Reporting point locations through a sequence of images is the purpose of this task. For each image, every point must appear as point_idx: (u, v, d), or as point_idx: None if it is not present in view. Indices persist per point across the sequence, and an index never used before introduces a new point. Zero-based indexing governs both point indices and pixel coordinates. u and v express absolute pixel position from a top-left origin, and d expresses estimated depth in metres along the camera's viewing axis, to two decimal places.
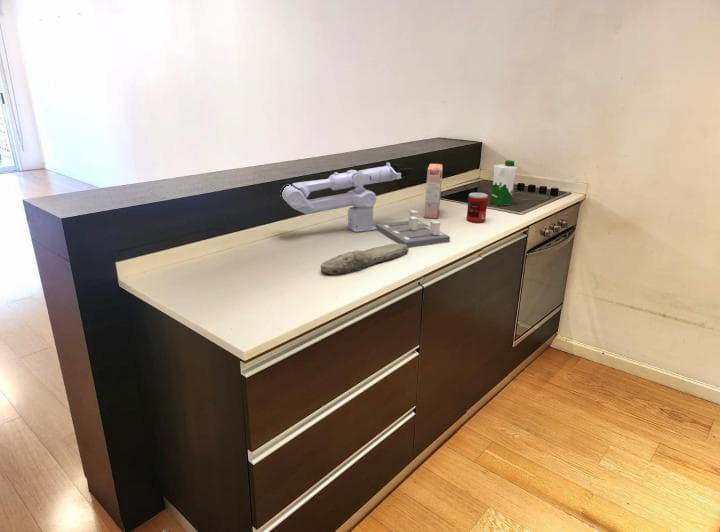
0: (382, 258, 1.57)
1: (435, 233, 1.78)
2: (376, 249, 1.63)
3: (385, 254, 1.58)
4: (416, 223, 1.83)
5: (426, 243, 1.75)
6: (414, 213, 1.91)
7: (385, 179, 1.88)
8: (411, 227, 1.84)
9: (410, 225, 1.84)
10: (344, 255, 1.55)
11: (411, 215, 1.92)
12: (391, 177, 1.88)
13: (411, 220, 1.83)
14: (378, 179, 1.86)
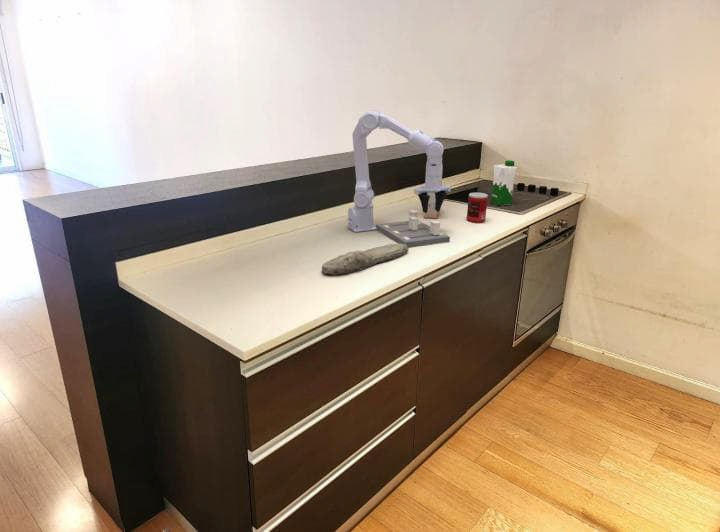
0: (383, 258, 1.57)
1: (435, 233, 1.78)
2: (376, 249, 1.63)
3: (386, 254, 1.58)
4: (416, 223, 1.83)
5: (426, 243, 1.75)
6: (414, 213, 1.91)
7: None
8: (411, 227, 1.84)
9: (410, 225, 1.84)
10: (345, 255, 1.55)
11: (411, 215, 1.92)
12: (424, 187, 1.82)
13: (411, 220, 1.83)
14: (430, 174, 1.78)
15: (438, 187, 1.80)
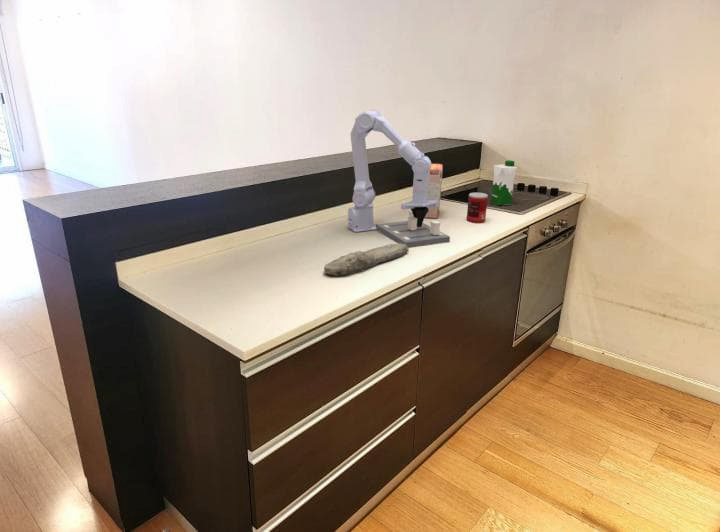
0: (384, 258, 1.57)
1: (435, 233, 1.78)
2: (377, 249, 1.62)
3: (387, 254, 1.58)
4: (415, 223, 1.83)
5: (426, 243, 1.75)
6: None
7: None
8: (410, 227, 1.84)
9: (409, 225, 1.84)
10: (346, 256, 1.54)
11: (411, 215, 1.92)
12: (411, 202, 1.82)
13: (410, 220, 1.83)
14: (416, 189, 1.78)
15: (425, 202, 1.80)
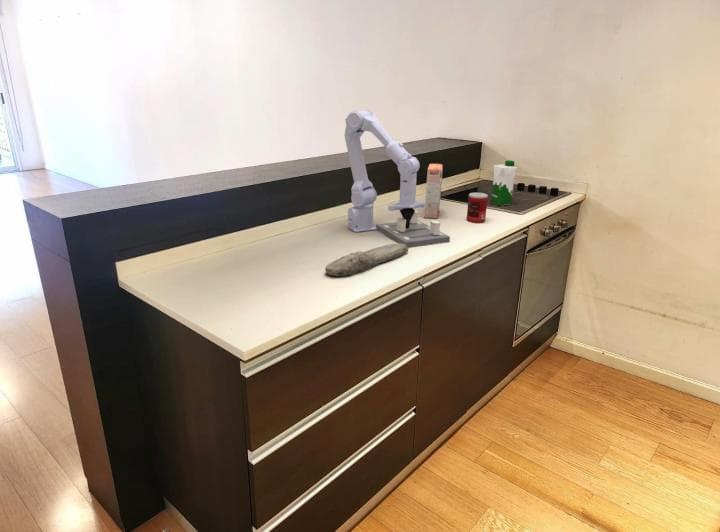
0: (385, 258, 1.57)
1: (435, 233, 1.78)
2: (377, 249, 1.62)
3: (387, 254, 1.58)
4: (404, 224, 1.81)
5: (426, 243, 1.75)
6: (414, 213, 1.91)
7: None
8: (399, 228, 1.82)
9: (398, 226, 1.82)
10: (347, 256, 1.54)
11: None
12: (399, 203, 1.80)
13: (399, 221, 1.81)
14: (402, 190, 1.77)
15: (412, 203, 1.78)
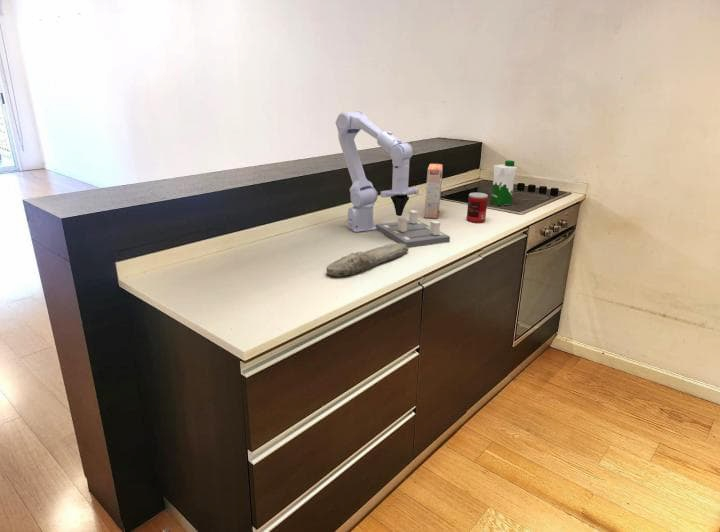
0: (385, 258, 1.57)
1: (435, 233, 1.78)
2: (377, 250, 1.62)
3: (388, 254, 1.58)
4: (405, 224, 1.81)
5: (426, 243, 1.75)
6: (414, 213, 1.91)
7: (392, 183, 1.77)
8: (400, 228, 1.82)
9: (399, 226, 1.83)
10: (348, 257, 1.54)
11: (411, 215, 1.92)
12: (391, 190, 1.77)
13: (400, 221, 1.81)
14: (393, 176, 1.74)
15: (405, 190, 1.75)
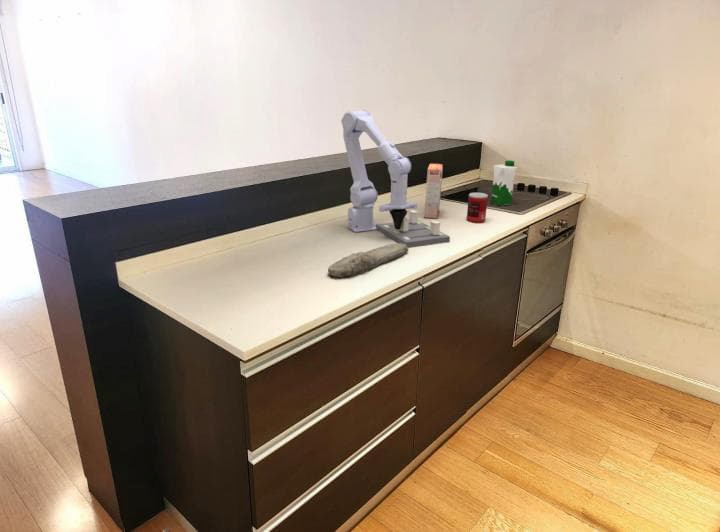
0: (386, 259, 1.57)
1: (435, 233, 1.78)
2: (378, 250, 1.62)
3: (388, 254, 1.58)
4: (407, 224, 1.81)
5: (426, 243, 1.75)
6: (414, 213, 1.91)
7: None
8: (402, 228, 1.82)
9: (401, 226, 1.83)
10: (349, 257, 1.53)
11: (411, 215, 1.92)
12: (390, 204, 1.79)
13: None
14: (392, 190, 1.76)
15: (403, 204, 1.77)
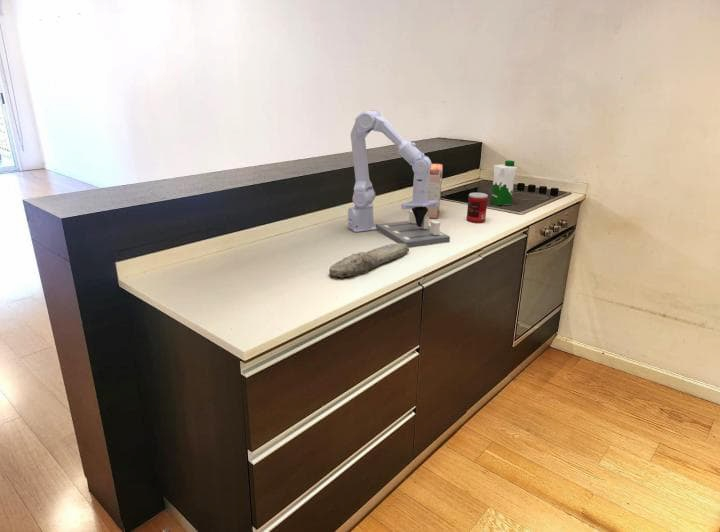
0: (387, 259, 1.57)
1: (435, 233, 1.78)
2: (378, 250, 1.62)
3: (389, 254, 1.58)
4: (427, 222, 1.85)
5: (426, 243, 1.75)
6: None
7: None
8: (422, 226, 1.86)
9: (421, 224, 1.86)
10: (350, 257, 1.53)
11: (411, 215, 1.92)
12: (411, 202, 1.82)
13: None
14: (416, 189, 1.78)
15: (425, 202, 1.80)
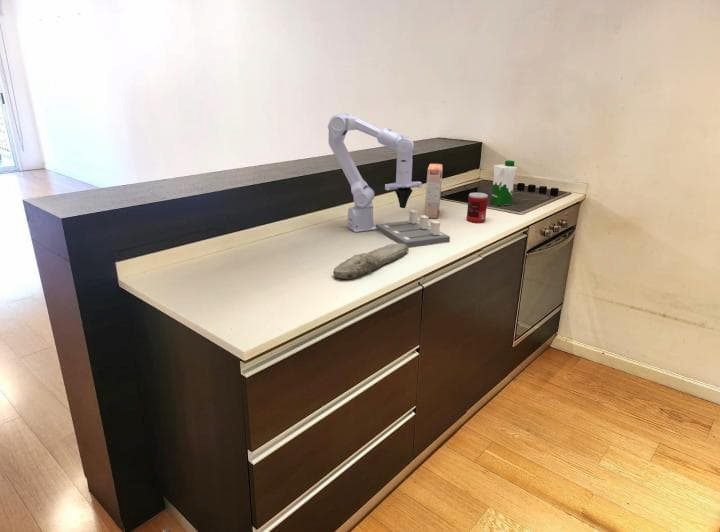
0: (389, 259, 1.56)
1: (435, 233, 1.78)
2: (379, 250, 1.62)
3: (391, 255, 1.58)
4: (427, 222, 1.85)
5: (426, 243, 1.75)
6: (414, 213, 1.91)
7: (396, 176, 1.83)
8: (422, 226, 1.85)
9: (421, 224, 1.86)
10: (352, 259, 1.52)
11: (411, 215, 1.92)
12: (395, 183, 1.84)
13: (422, 219, 1.85)
14: (400, 170, 1.80)
15: (408, 183, 1.81)
